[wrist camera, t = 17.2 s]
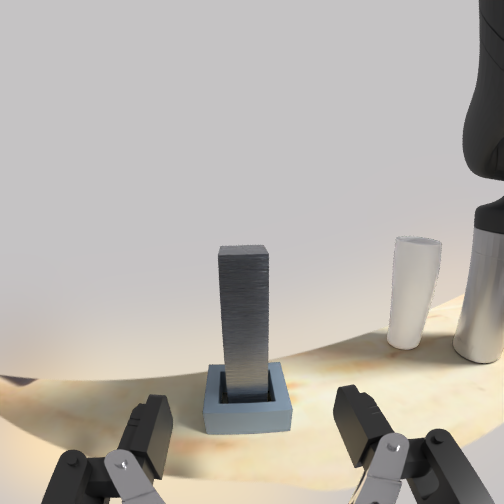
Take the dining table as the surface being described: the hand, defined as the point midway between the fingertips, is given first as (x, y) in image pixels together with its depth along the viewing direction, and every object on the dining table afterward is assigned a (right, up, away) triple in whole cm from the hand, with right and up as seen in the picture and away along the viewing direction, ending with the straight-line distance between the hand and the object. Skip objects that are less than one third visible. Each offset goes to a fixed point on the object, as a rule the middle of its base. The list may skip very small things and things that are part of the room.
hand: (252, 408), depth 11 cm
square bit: (0, -8, +13) cm, 15 cm away
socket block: (-1, -8, +13) cm, 15 cm away
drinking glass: (+22, -6, +23) cm, 32 cm away
